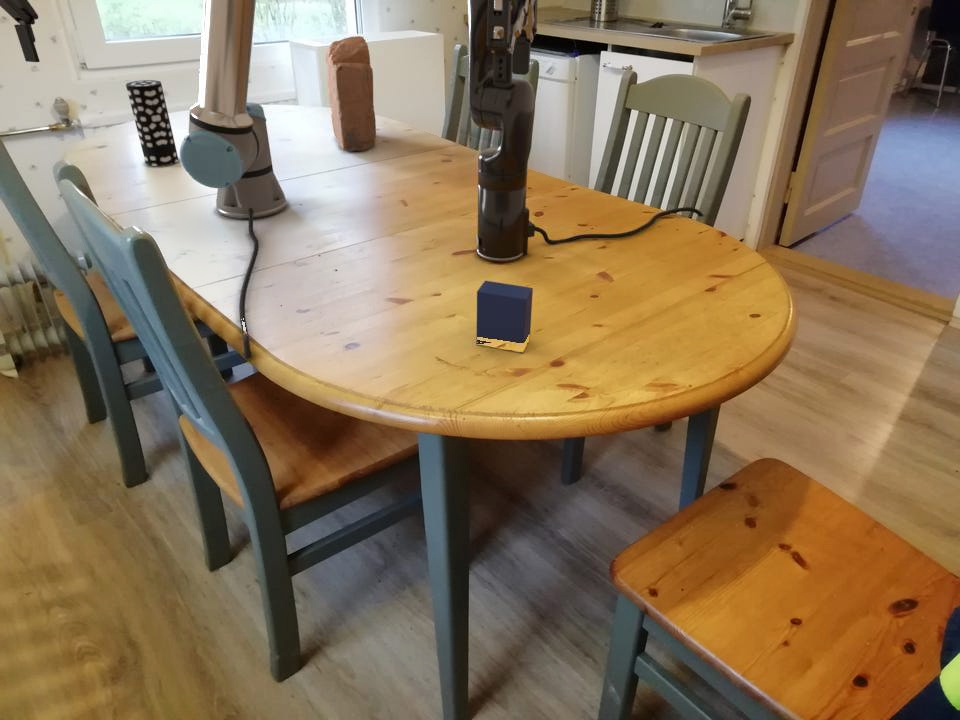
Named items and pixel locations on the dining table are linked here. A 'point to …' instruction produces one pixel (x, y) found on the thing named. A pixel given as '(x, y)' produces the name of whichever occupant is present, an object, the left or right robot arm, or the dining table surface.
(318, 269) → the dining table surface
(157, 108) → the black white spotted cylinder
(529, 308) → the block
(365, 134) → the stone
